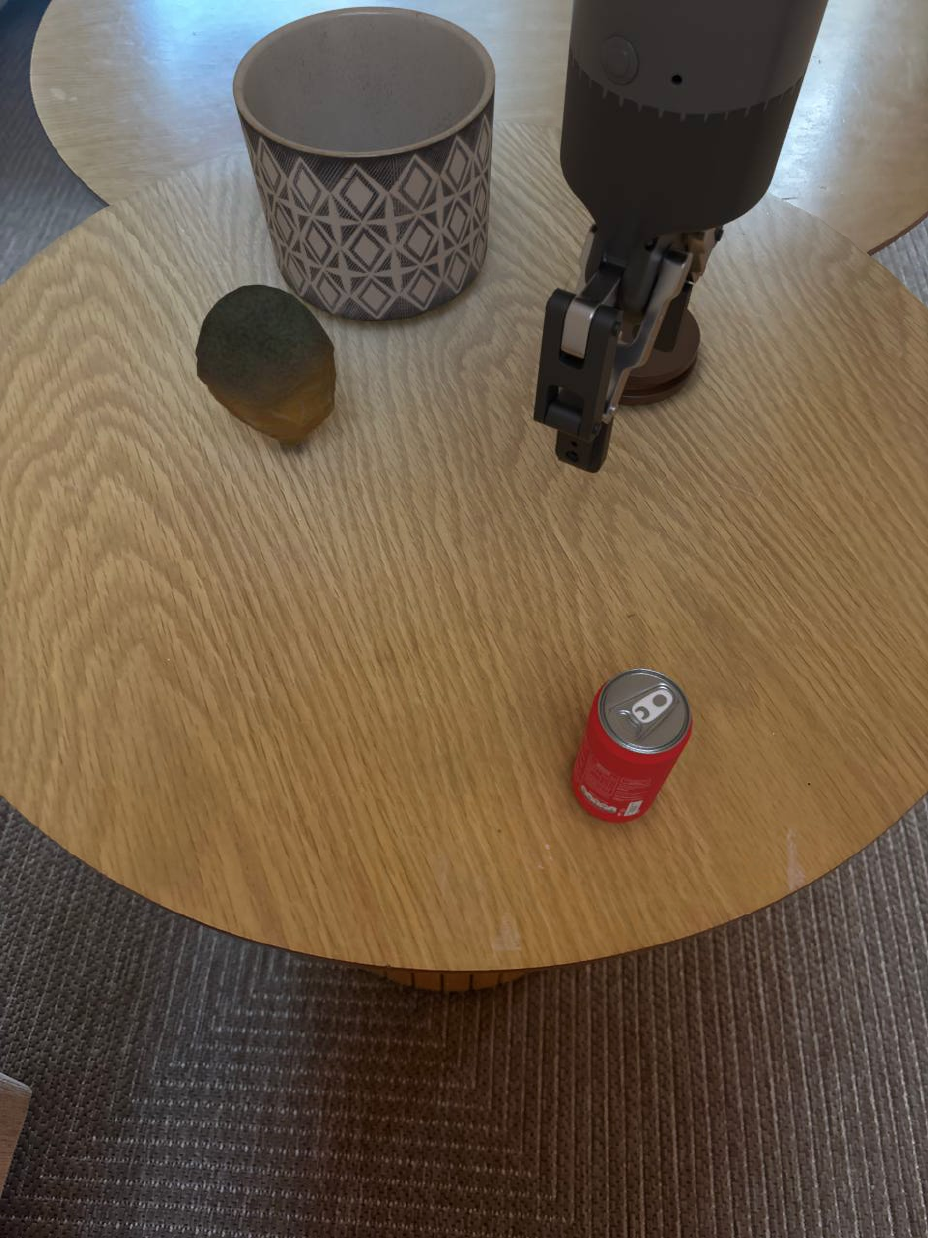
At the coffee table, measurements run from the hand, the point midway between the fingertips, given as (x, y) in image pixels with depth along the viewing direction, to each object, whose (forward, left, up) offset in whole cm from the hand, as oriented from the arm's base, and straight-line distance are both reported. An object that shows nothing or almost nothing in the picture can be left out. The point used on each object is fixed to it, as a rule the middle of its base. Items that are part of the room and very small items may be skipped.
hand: (618, 399), depth 42 cm
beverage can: (-5, +11, -22) cm, 25 cm away
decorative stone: (+24, -10, -22) cm, 34 cm away
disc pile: (0, -26, -22) cm, 34 cm away
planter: (+23, -32, -22) cm, 46 cm away
